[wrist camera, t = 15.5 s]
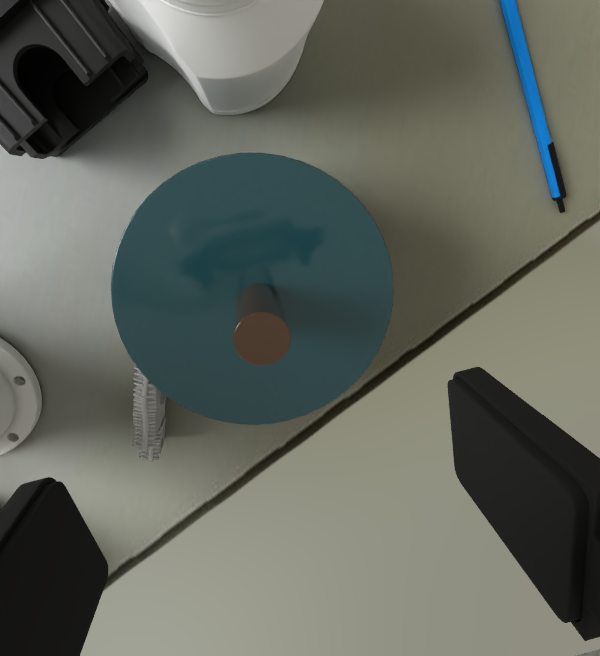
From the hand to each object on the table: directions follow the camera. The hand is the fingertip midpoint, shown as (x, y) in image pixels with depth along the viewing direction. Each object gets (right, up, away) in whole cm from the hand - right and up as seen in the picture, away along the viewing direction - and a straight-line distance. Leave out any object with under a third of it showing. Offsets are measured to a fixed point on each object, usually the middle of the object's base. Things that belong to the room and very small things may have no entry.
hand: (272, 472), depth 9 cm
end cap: (-15, +21, +17) cm, 31 cm away
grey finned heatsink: (-12, -1, +25) cm, 28 cm away
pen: (+19, +21, +21) cm, 35 cm away
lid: (-2, +5, +14) cm, 15 cm away
